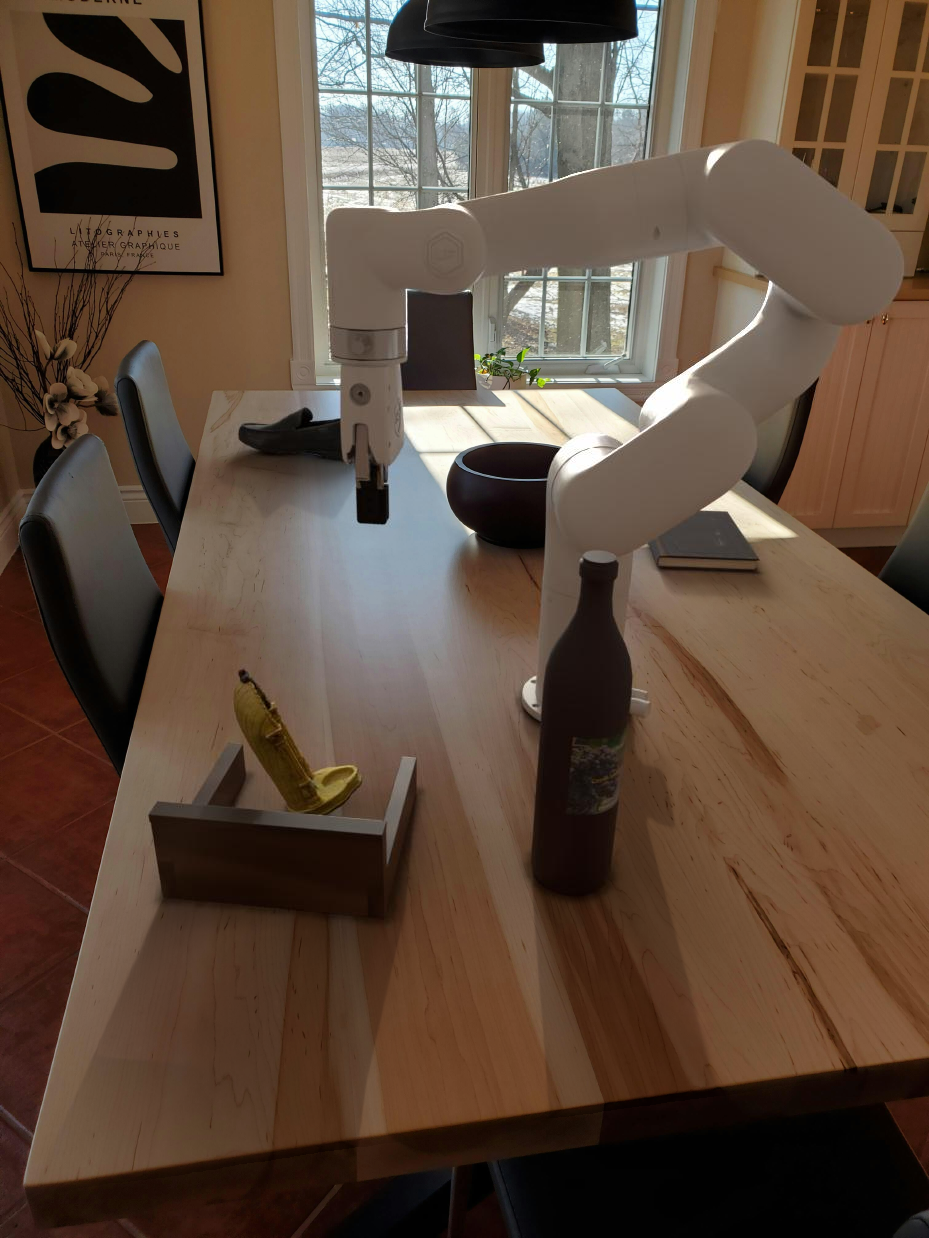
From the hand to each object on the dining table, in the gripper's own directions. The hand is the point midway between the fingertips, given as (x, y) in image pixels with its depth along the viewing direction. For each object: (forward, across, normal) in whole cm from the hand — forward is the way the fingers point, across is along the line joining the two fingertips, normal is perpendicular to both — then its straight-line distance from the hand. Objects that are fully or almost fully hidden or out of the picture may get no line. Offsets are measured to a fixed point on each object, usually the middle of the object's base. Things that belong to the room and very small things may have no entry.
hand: (373, 521), depth 96 cm
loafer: (+22, +101, +36) cm, 110 cm away
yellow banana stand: (+22, -21, +3) cm, 31 cm away
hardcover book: (+22, +58, -44) cm, 76 cm away
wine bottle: (+22, -27, -22) cm, 41 cm away
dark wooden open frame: (+22, -25, +2) cm, 33 cm away
